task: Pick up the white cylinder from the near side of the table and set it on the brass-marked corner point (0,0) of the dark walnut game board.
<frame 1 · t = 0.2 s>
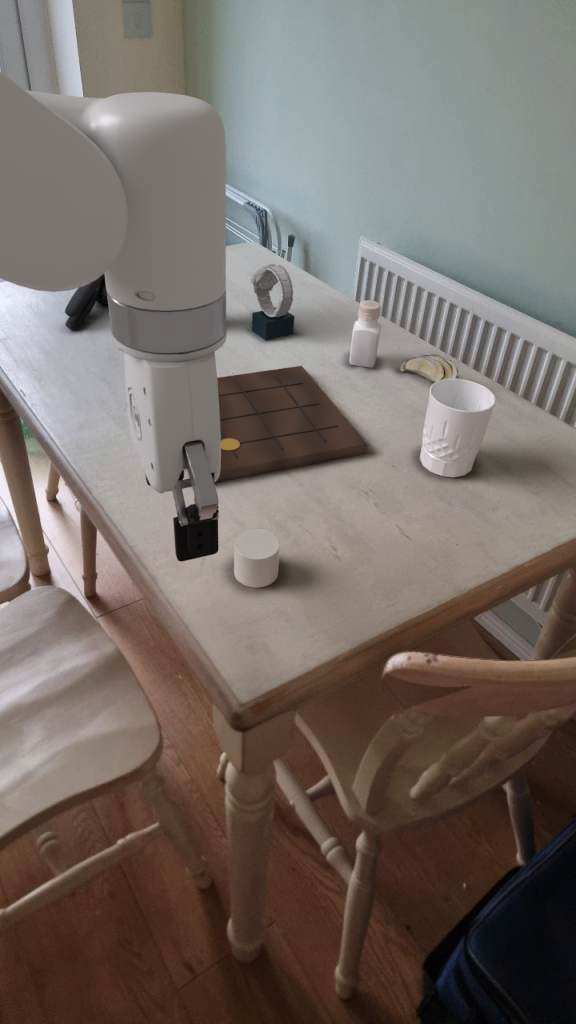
hand: (180, 516, 56), 14 cm above the table, tool pointing down, fingers open, 9 cm apart
wine bottle: (198, 325, 117), on the table
white cylinder: (256, 571, 72), on the table
oyster shell: (428, 383, 106), on the table
board: (257, 423, 94), on the table
watch: (272, 333, 116), on the table
can opener: (92, 311, 119), on the table
white cup: (445, 463, 89), on the table
pepper shaker: (362, 363, 110), on the table
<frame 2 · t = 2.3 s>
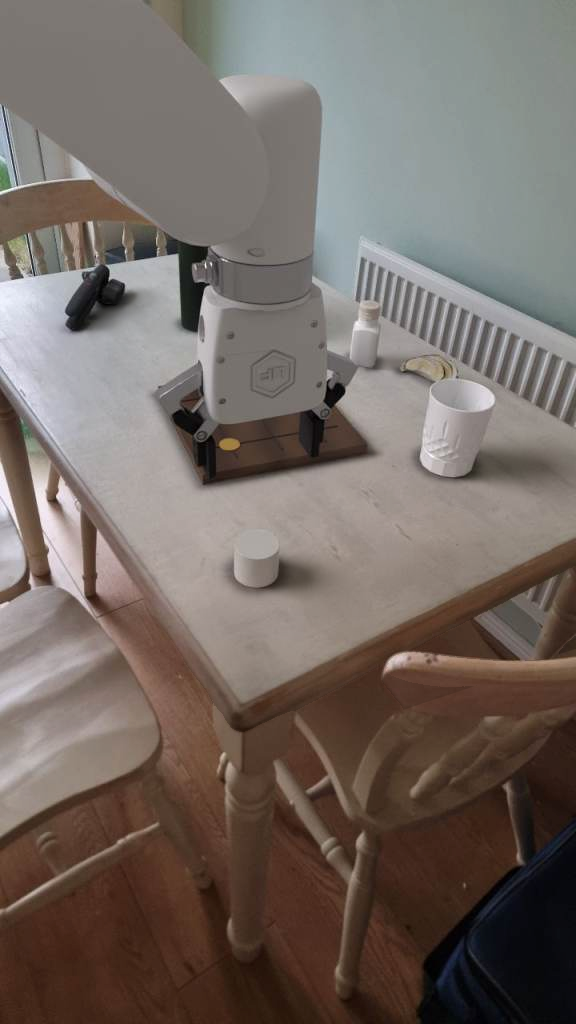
hand: (259, 459, 62), 15 cm above the table, tool pointing down, fingers open, 9 cm apart
nothing on the table moved.
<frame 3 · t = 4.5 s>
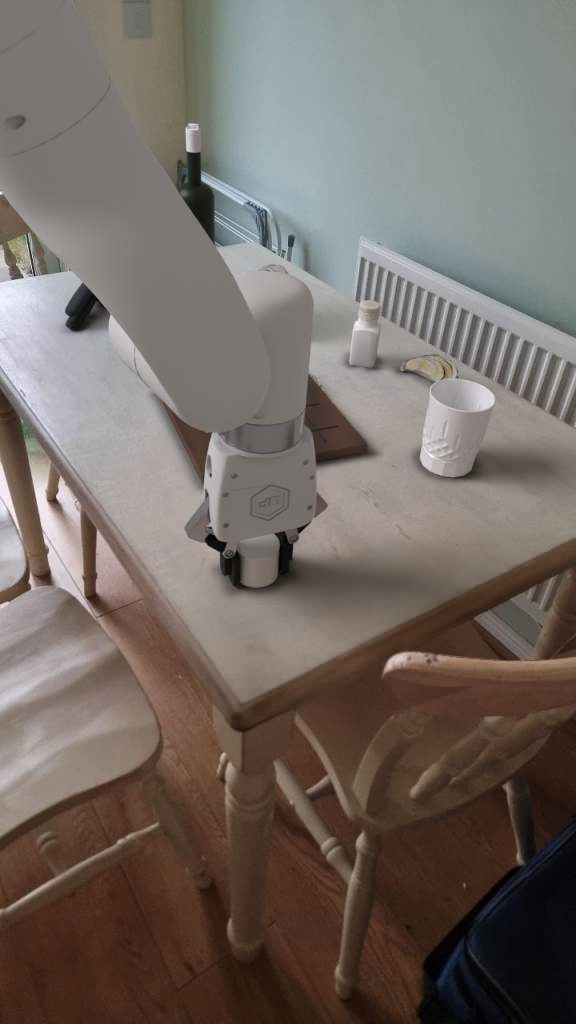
hand: (256, 569, 72), 0 cm above the table, tool pointing down, fingers closed on white cylinder, 4 cm apart
white cylinder: (256, 571, 72), on the table, touching gripper
everything else where it was.
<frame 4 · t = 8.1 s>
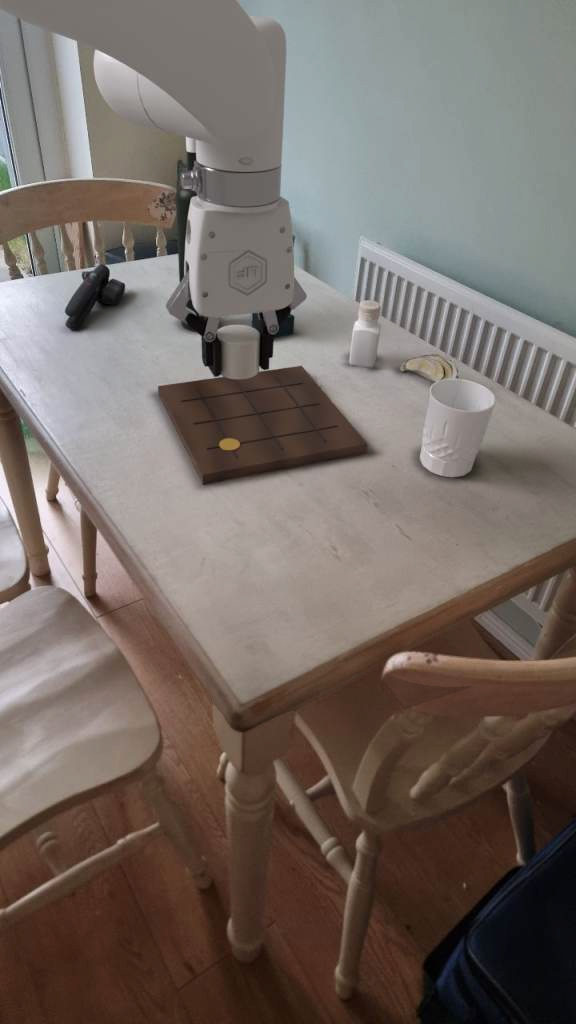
hand: (237, 365, 74), 16 cm above the table, tool pointing down, fingers closed on white cylinder, 4 cm apart
white cylinder: (237, 369, 74), point 15 cm above the table, touching gripper
everything else where it was.
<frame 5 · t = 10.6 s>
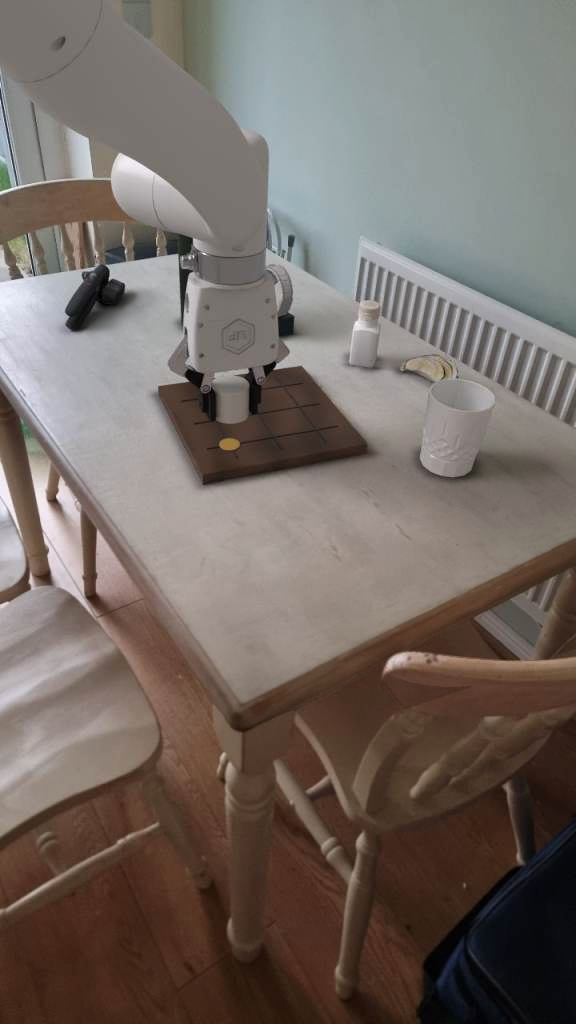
hand: (230, 411, 84), 6 cm above the table, tool pointing down, fingers closed on white cylinder, 4 cm apart
white cylinder: (230, 413, 84), point 6 cm above the table, touching gripper
everything else where it was.
when the fingers open (2 cm above the table, at t = 12.1 s): white cylinder stays where it is, resting on board.
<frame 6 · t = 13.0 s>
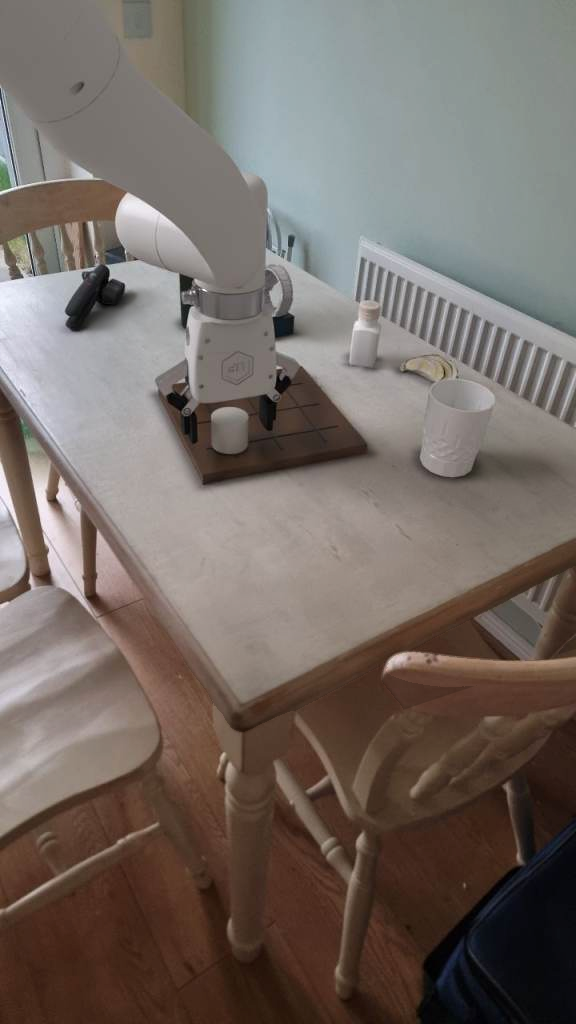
hand: (229, 431, 86), 4 cm above the table, tool pointing down, fingers open, 9 cm apart
white cylinder: (229, 443, 87), point 2 cm above the table, touching board
everything else where it was.
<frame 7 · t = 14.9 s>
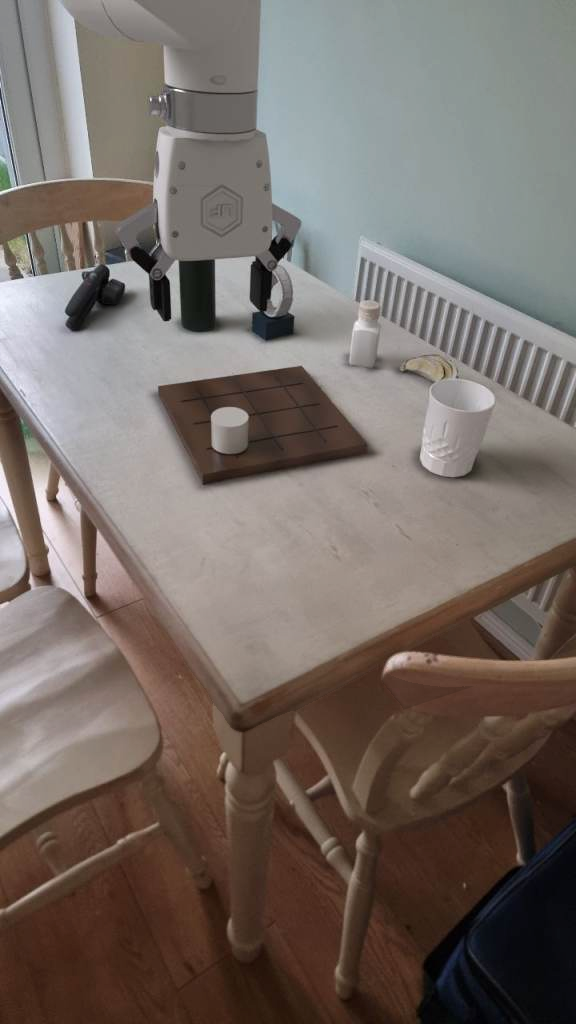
hand: (211, 311, 68), 22 cm above the table, tool pointing down, fingers open, 9 cm apart
nothing on the table moved.
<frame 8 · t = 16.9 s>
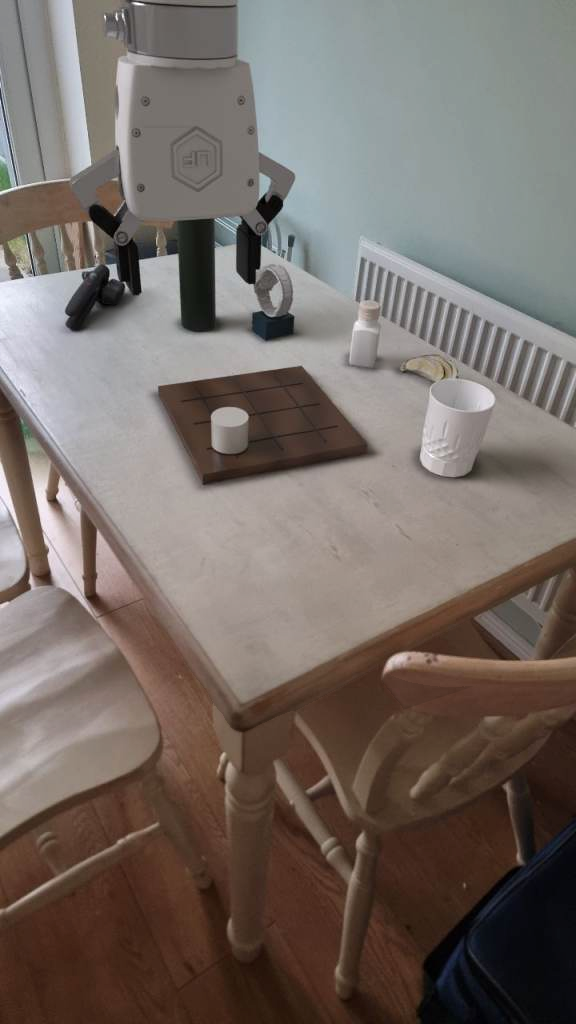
hand: (190, 283, 58), 28 cm above the table, tool pointing down, fingers open, 9 cm apart
nothing on the table moved.
at the end: white cylinder 0.0 cm from the target spot on the board, point 1.6 cm above the board's base; the gripper is holding nothing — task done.
